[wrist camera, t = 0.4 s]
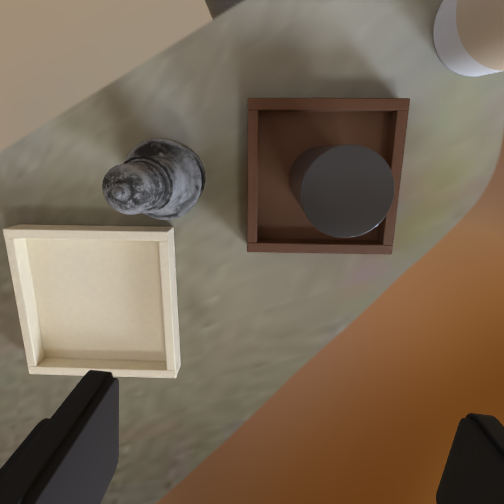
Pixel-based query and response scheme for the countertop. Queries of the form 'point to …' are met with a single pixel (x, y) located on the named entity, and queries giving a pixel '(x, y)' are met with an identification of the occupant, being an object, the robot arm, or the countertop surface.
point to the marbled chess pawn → (155, 180)
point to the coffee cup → (470, 36)
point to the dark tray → (298, 141)
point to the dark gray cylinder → (343, 188)
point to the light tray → (96, 298)
